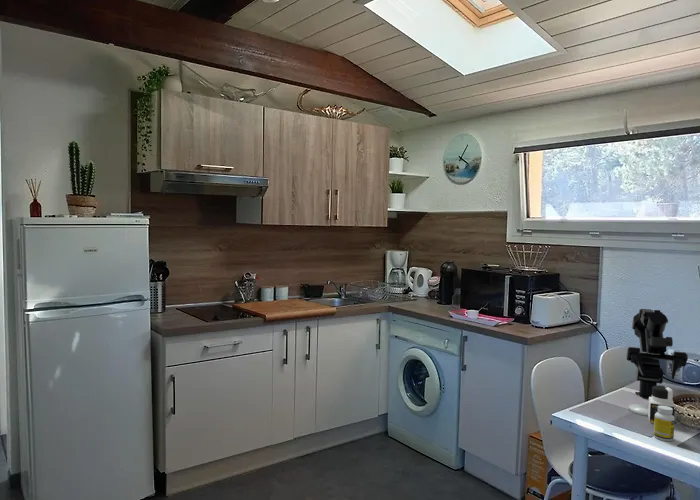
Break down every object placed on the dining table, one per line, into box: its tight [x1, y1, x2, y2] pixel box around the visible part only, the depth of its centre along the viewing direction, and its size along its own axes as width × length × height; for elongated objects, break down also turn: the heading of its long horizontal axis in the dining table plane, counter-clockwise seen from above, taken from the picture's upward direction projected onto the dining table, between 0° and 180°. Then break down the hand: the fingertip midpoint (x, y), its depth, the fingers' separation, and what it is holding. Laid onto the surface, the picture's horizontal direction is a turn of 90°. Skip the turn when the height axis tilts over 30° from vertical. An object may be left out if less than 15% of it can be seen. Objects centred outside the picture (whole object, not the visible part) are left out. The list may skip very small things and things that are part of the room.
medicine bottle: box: [647, 384, 676, 424], centre depth 173 cm, size 7×7×12 cm
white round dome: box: [628, 403, 649, 417], centre depth 183 cm, size 9×9×1 cm
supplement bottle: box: [653, 406, 676, 442], centre depth 159 cm, size 5×5×10 cm
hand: (658, 377), depth 180 cm, fingers open, 9 cm apart
